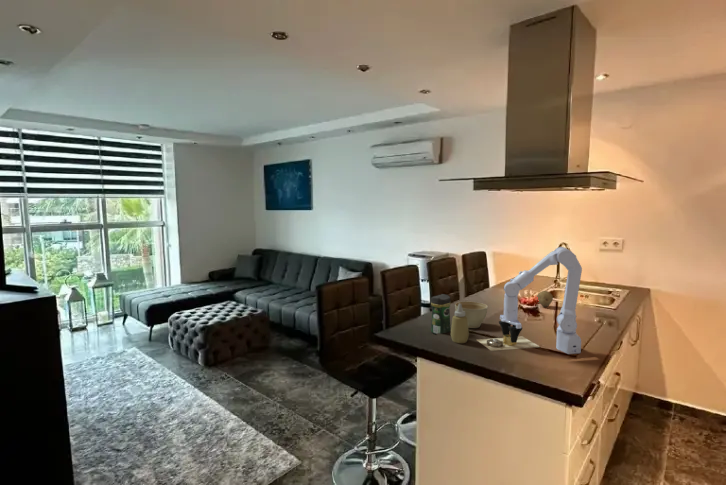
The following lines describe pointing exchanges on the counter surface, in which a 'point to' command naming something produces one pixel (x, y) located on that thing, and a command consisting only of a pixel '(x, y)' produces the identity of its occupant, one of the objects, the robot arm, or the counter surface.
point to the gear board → (520, 344)
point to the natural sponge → (545, 298)
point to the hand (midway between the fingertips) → (509, 339)
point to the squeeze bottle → (459, 326)
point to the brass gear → (508, 340)
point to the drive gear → (495, 343)
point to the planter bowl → (473, 312)
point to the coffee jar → (440, 314)
